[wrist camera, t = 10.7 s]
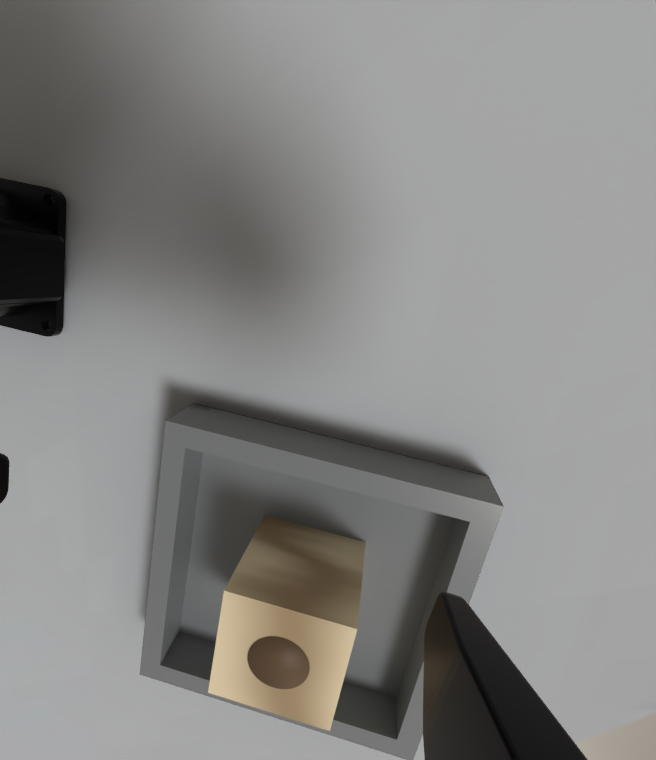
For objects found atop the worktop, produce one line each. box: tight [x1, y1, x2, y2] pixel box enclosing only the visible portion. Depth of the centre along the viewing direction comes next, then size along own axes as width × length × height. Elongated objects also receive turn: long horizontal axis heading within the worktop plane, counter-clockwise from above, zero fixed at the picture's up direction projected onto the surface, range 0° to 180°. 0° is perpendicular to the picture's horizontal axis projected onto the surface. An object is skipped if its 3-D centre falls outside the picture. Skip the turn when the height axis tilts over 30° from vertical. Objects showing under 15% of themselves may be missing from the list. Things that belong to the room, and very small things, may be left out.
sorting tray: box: [140, 403, 504, 760], centre depth 19 cm, size 14×14×2 cm
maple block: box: [208, 515, 366, 731], centre depth 18 cm, size 5×5×5 cm
